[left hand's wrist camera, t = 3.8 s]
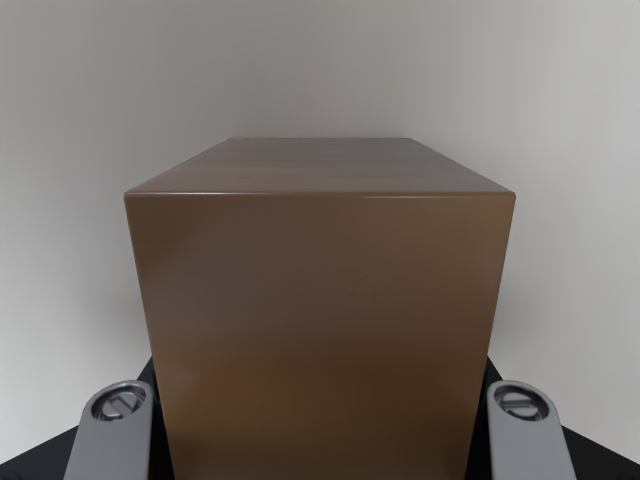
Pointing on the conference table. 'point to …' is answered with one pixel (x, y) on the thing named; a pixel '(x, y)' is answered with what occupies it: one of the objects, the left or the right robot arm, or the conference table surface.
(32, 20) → the conference table surface
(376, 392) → the post
